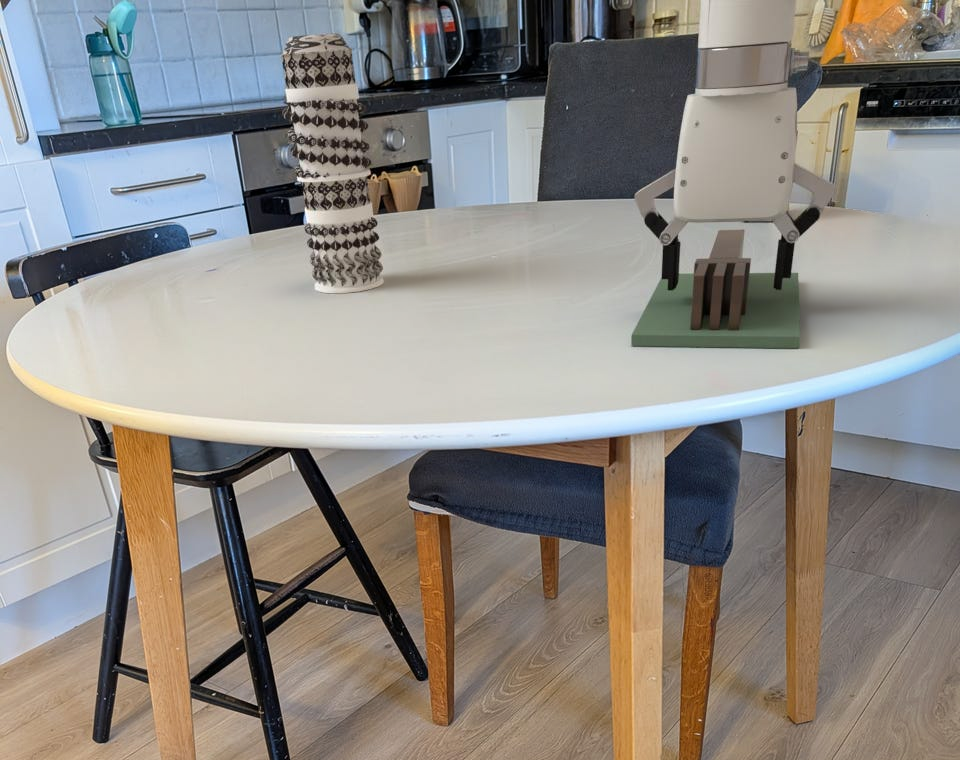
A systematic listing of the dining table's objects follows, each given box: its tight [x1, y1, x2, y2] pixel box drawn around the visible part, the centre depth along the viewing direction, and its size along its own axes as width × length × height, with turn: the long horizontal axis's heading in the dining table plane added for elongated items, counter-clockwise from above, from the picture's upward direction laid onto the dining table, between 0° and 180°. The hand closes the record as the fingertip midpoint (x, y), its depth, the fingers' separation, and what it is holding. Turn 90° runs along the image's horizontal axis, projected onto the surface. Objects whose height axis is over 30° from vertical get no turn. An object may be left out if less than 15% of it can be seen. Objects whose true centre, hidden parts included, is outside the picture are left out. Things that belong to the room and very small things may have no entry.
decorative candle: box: [279, 33, 385, 294], centre depth 99 cm, size 9×9×25 cm
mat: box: [630, 272, 801, 349], centre depth 84 cm, size 24×14×1 cm, turn 164°
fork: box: [690, 229, 752, 330], centre depth 83 cm, size 21×5×4 cm, turn 164°
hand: (724, 286), depth 83 cm, fingers open, 9 cm apart
